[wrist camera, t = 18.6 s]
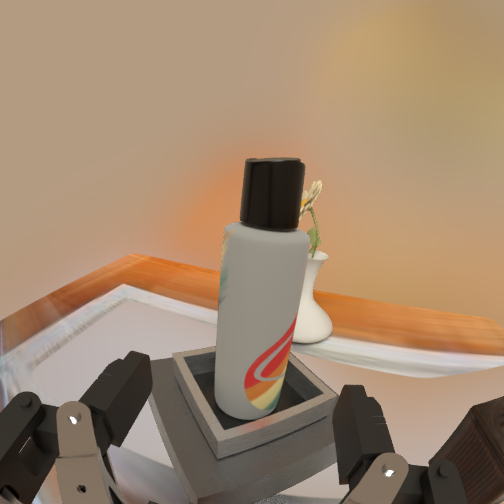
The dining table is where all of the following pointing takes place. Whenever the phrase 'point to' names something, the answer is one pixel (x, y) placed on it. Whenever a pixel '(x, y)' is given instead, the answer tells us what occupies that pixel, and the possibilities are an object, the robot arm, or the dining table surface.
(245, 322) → the lotion bottle
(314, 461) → the gray square holder
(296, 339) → the flower in vase
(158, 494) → the dining table surface
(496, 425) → the bronze sculpture
